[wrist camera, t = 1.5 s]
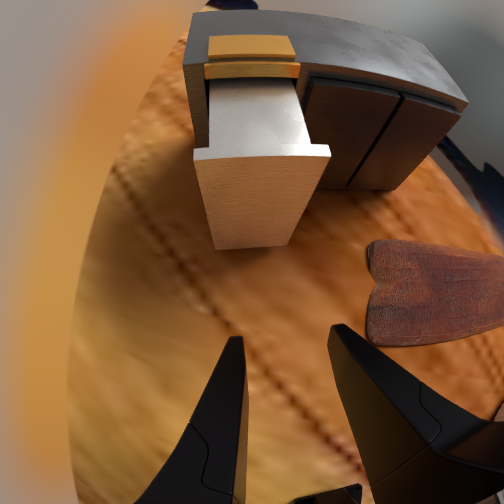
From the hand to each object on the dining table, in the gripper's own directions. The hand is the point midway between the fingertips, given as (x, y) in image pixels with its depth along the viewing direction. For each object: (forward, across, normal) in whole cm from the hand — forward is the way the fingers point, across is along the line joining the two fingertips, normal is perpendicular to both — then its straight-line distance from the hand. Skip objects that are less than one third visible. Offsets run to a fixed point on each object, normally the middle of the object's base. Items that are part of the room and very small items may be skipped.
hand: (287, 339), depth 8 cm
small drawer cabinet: (+21, -6, -2) cm, 22 cm away
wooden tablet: (+10, -23, +10) cm, 27 cm away
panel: (+16, 0, +1) cm, 16 cm away
